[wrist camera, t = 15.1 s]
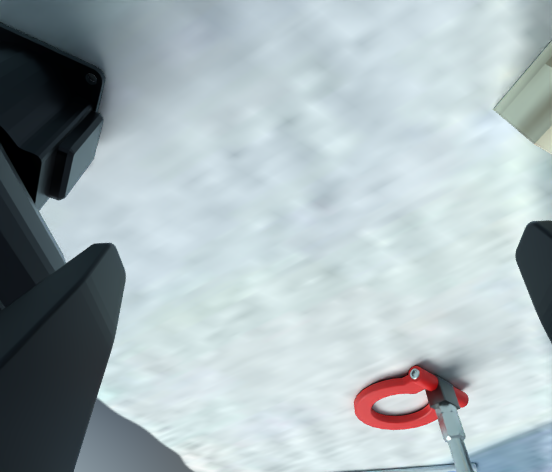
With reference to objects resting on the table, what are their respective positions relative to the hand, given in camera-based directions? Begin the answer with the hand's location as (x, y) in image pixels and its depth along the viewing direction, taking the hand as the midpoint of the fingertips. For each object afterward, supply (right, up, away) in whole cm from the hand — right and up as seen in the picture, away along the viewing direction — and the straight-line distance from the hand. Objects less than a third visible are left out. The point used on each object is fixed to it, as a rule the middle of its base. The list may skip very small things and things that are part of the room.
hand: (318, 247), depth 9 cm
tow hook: (+11, -15, +29) cm, 34 cm away
